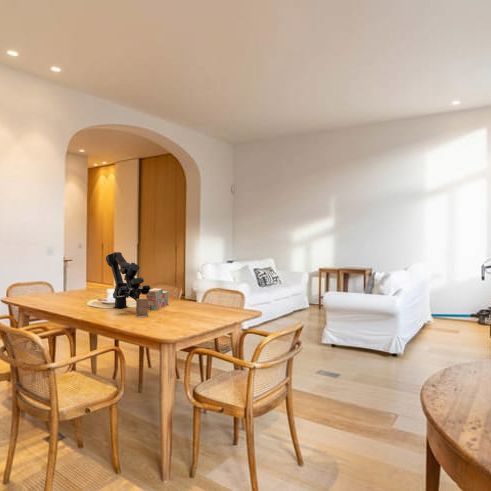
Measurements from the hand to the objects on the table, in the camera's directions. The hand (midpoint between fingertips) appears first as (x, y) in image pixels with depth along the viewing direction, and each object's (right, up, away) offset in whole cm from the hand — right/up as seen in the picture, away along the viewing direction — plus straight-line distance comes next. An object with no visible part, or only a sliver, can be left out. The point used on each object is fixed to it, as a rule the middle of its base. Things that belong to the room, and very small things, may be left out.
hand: (138, 301), depth 231 cm
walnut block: (+3, -8, -4) cm, 9 cm away
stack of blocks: (+6, -8, +26) cm, 27 cm away
